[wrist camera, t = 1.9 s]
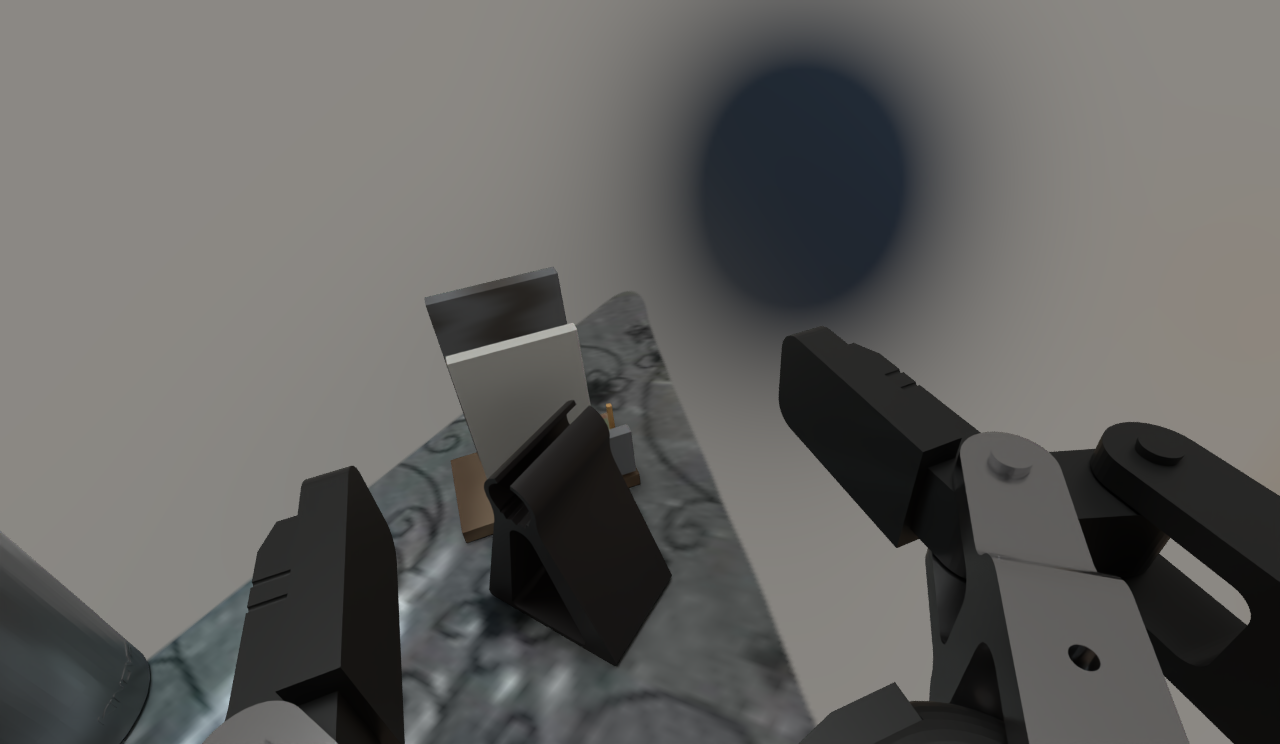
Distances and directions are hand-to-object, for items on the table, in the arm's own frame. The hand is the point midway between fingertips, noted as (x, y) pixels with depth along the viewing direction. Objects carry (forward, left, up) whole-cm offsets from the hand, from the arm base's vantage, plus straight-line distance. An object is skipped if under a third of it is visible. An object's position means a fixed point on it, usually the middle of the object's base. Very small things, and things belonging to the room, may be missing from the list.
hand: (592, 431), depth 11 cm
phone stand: (0, +13, -24) cm, 27 cm away
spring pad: (+1, +19, -22) cm, 29 cm away
